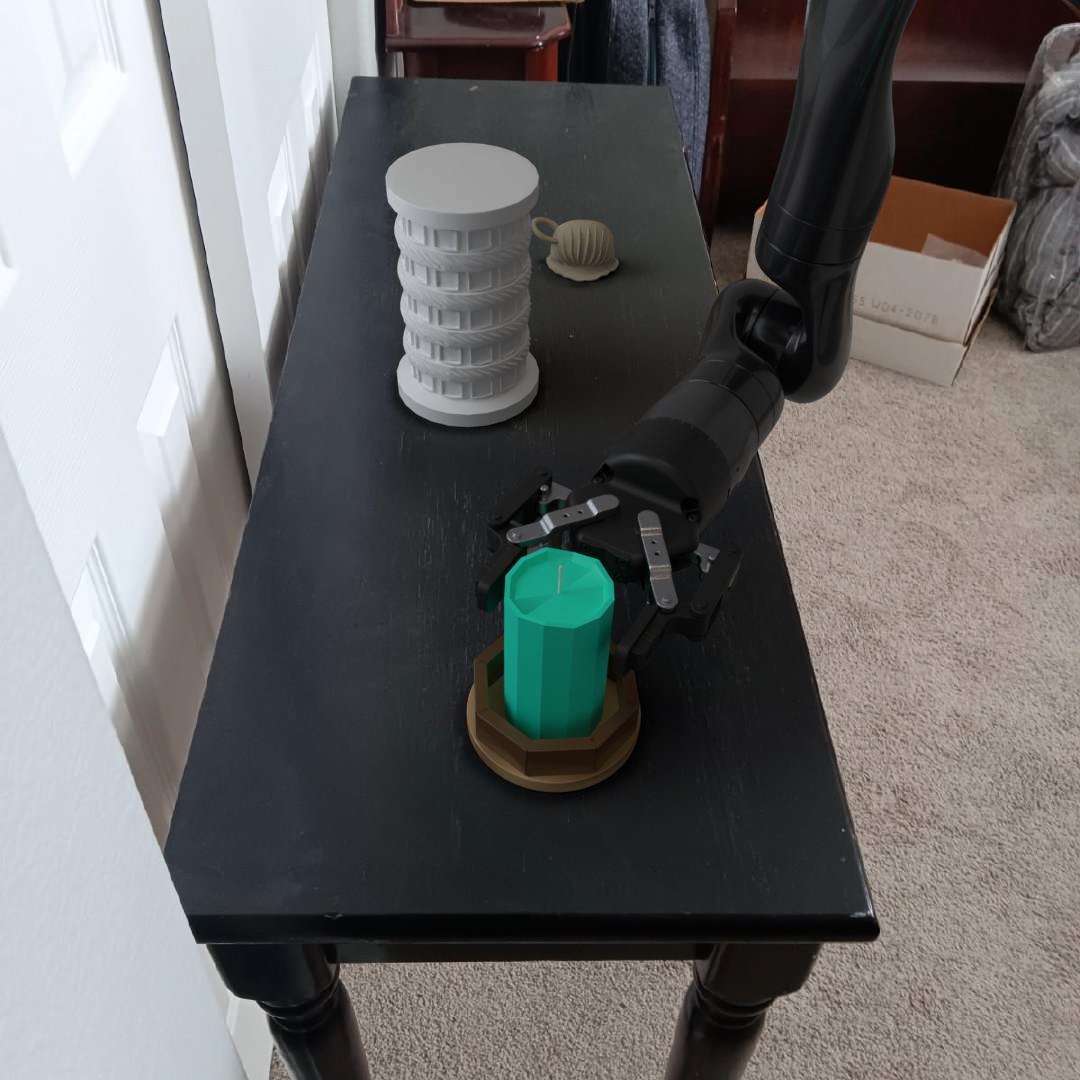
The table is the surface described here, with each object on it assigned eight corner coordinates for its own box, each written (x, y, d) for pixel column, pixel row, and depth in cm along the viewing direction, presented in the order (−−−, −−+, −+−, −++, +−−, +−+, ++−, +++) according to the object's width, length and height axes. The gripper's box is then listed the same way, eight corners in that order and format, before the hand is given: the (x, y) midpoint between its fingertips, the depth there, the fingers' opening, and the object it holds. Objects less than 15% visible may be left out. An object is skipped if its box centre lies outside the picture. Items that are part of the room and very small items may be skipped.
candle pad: (673, 712, 65) (680, 676, 63) (564, 826, 60) (566, 792, 57) (544, 625, 70) (545, 589, 68) (431, 723, 64) (427, 687, 62)
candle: (589, 759, 62) (602, 621, 53) (489, 733, 63) (487, 594, 54) (614, 679, 66) (630, 540, 57) (520, 656, 67) (522, 516, 58)
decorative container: (467, 446, 83) (460, 233, 70) (368, 383, 88) (345, 175, 76) (567, 383, 89) (577, 176, 76) (469, 327, 94) (463, 126, 82)
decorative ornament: (618, 283, 100) (623, 231, 96) (529, 279, 100) (530, 227, 97) (618, 260, 103) (622, 209, 99) (531, 257, 103) (532, 205, 99)
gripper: (582, 381, 68) (436, 533, 58) (796, 458, 63) (676, 640, 53) (577, 471, 73) (442, 625, 63) (774, 549, 68) (661, 730, 58)
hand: (549, 632), depth 58 cm, fingers open, 8 cm apart
